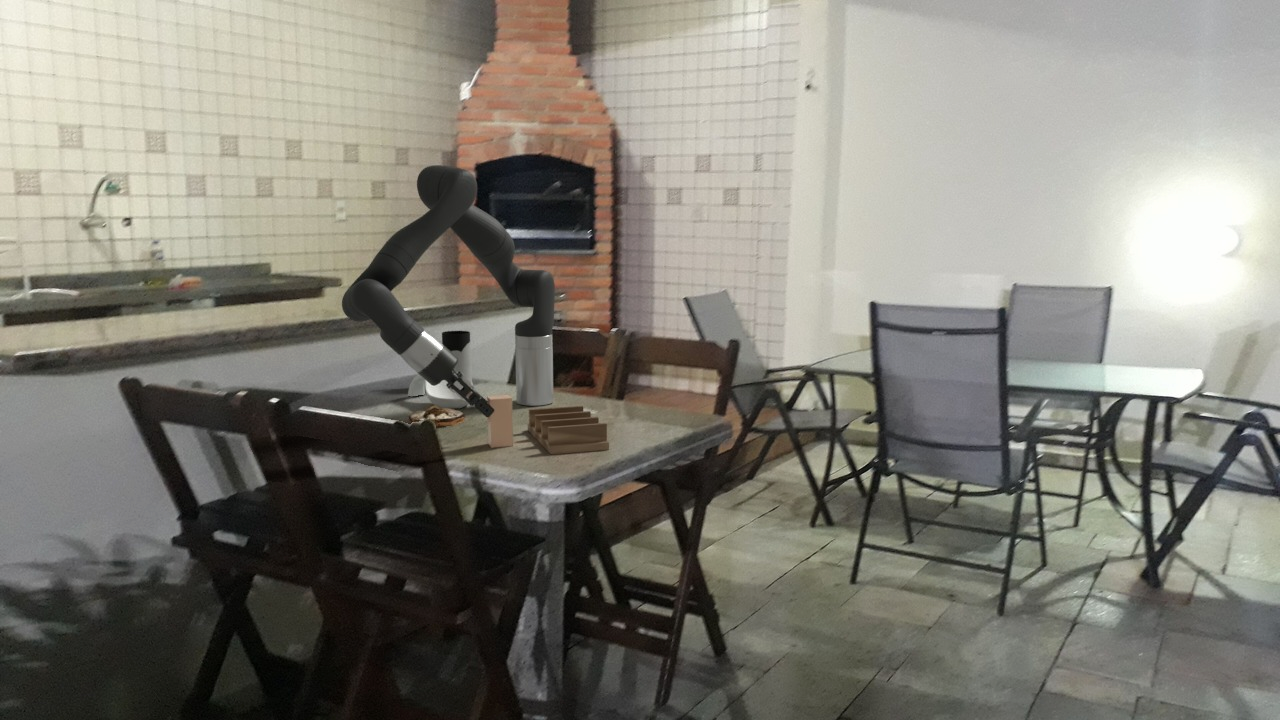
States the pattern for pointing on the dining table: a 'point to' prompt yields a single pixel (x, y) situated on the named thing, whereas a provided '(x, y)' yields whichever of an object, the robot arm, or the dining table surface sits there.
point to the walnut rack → (567, 430)
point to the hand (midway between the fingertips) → (487, 409)
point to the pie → (438, 416)
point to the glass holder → (460, 350)
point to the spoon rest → (436, 393)
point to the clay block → (500, 421)
